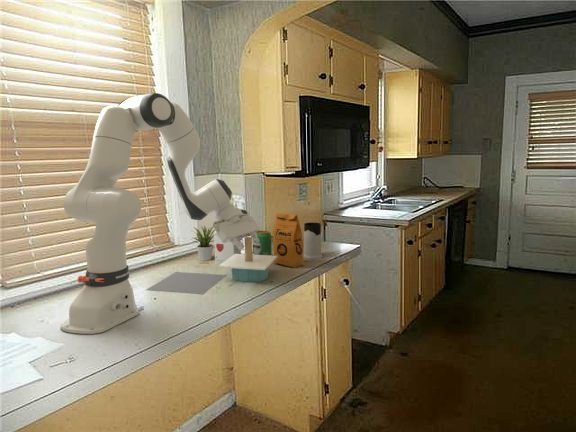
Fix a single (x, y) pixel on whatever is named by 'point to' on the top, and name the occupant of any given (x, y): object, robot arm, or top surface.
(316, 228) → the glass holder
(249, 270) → the bowl
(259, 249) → the beverage can
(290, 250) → the coffee package
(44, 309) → the top surface
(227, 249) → the supplement box
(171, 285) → the rubber mat
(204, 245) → the house plant
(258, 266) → the peg on square base
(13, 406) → the top surface
